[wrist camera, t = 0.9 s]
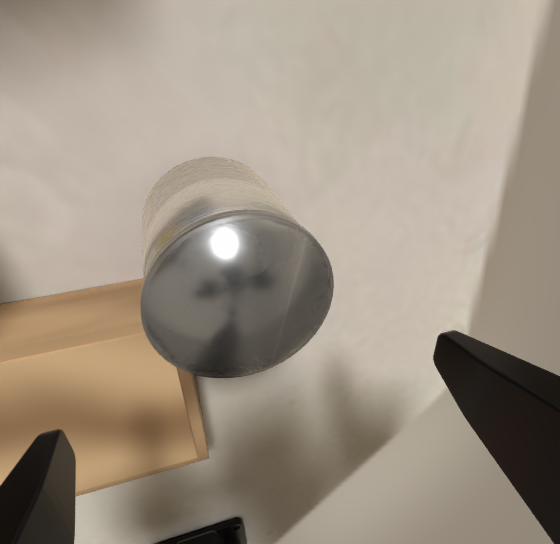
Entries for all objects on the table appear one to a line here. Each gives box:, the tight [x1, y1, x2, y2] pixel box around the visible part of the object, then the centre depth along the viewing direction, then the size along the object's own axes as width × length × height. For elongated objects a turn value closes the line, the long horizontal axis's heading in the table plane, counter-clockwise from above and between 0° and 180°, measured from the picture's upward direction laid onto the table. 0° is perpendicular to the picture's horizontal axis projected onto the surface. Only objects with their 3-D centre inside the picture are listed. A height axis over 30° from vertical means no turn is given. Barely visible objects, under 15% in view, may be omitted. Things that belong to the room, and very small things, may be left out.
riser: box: [0, 279, 209, 497], centre depth 17 cm, size 9×9×3 cm
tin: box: [141, 157, 334, 378], centre depth 14 cm, size 6×6×6 cm
